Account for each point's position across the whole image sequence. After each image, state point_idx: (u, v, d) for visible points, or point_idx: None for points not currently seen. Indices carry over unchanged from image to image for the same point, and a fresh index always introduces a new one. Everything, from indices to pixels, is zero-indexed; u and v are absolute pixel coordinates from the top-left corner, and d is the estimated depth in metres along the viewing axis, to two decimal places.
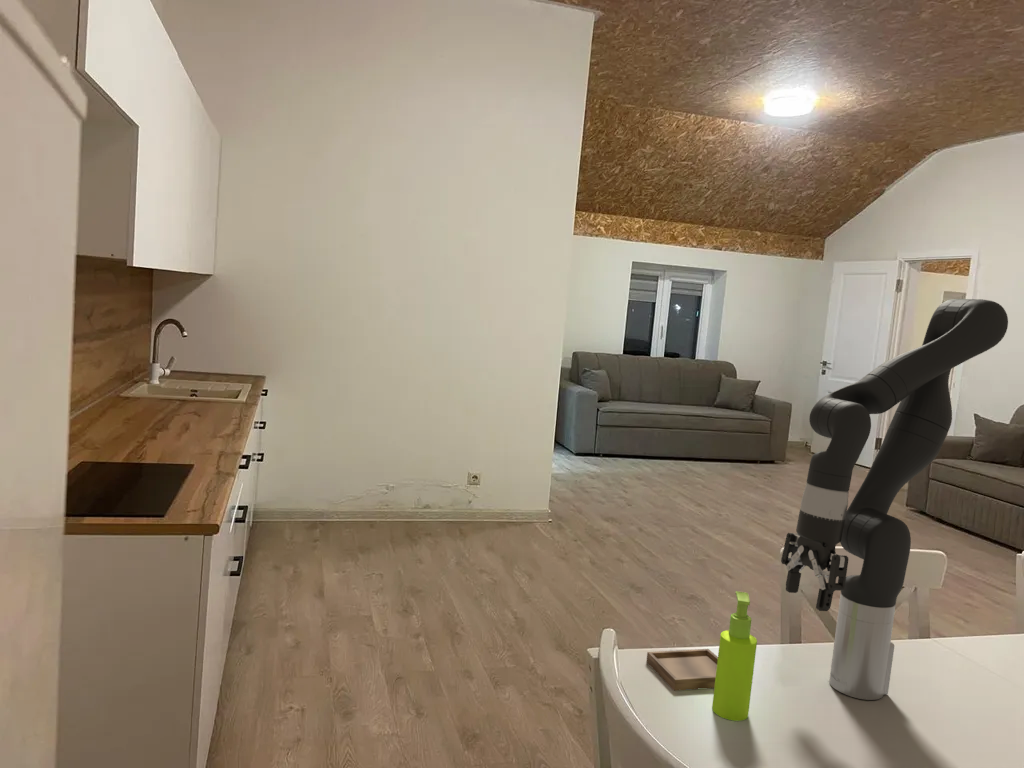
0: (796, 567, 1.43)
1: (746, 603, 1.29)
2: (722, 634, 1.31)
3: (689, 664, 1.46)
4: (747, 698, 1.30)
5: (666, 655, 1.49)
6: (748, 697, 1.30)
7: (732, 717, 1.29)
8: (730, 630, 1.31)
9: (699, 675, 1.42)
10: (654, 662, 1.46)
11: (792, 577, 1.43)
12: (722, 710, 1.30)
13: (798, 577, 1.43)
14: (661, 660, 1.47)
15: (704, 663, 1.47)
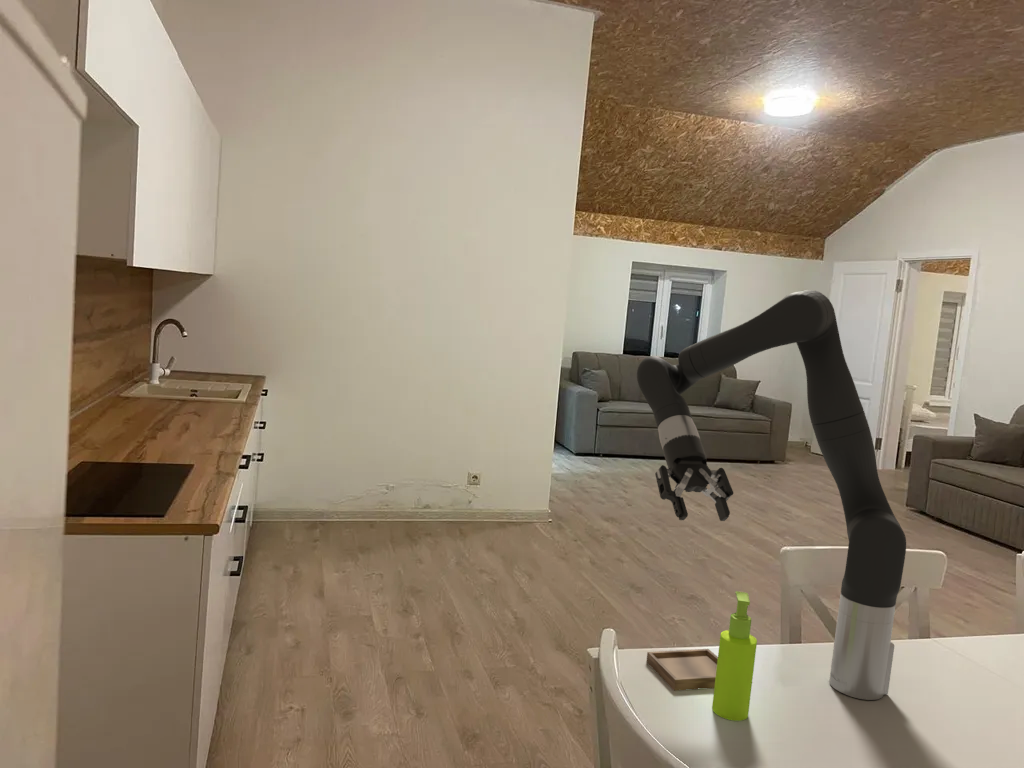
0: (717, 496, 1.47)
1: (746, 603, 1.29)
2: (722, 634, 1.31)
3: (689, 664, 1.46)
4: (747, 698, 1.30)
5: (666, 655, 1.49)
6: (748, 697, 1.30)
7: (732, 717, 1.29)
8: (730, 630, 1.31)
9: (699, 675, 1.42)
10: (654, 662, 1.46)
11: (717, 507, 1.47)
12: (722, 710, 1.30)
13: (720, 503, 1.46)
14: (661, 660, 1.47)
15: (704, 663, 1.47)
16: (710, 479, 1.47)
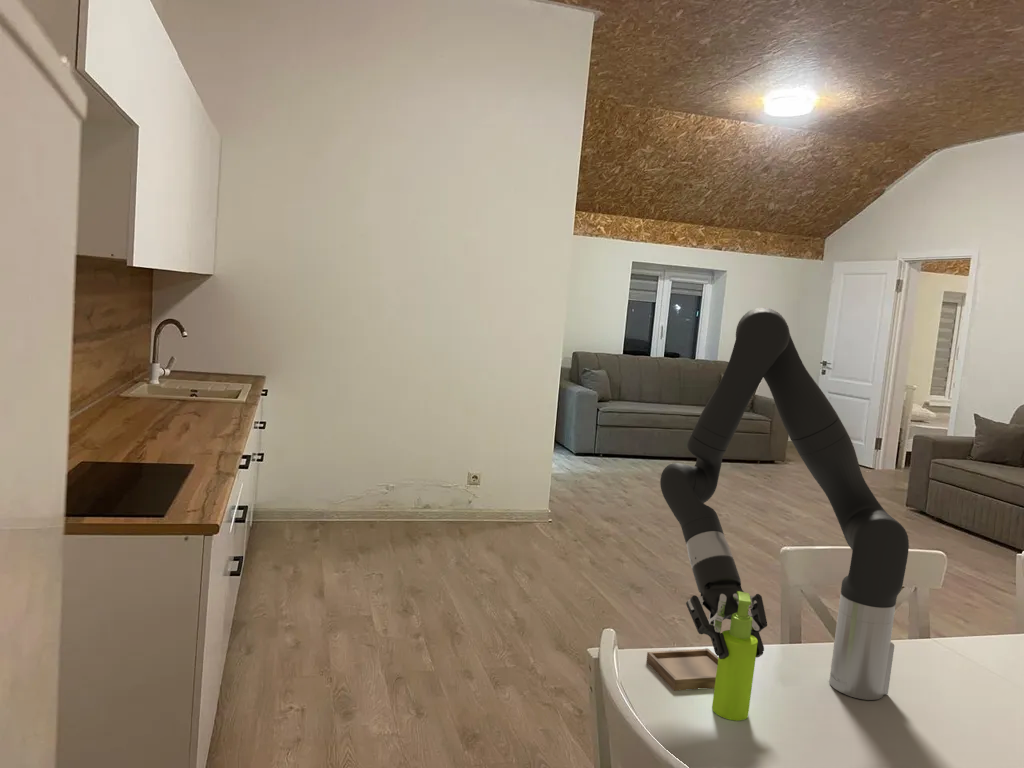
0: None
1: (747, 603, 1.29)
2: (723, 634, 1.31)
3: (689, 664, 1.46)
4: (747, 698, 1.30)
5: (666, 655, 1.49)
6: (748, 697, 1.30)
7: (732, 717, 1.29)
8: (731, 630, 1.31)
9: (699, 675, 1.42)
10: (654, 662, 1.46)
11: None
12: (722, 710, 1.30)
13: None
14: (661, 660, 1.47)
15: (704, 663, 1.47)
16: None
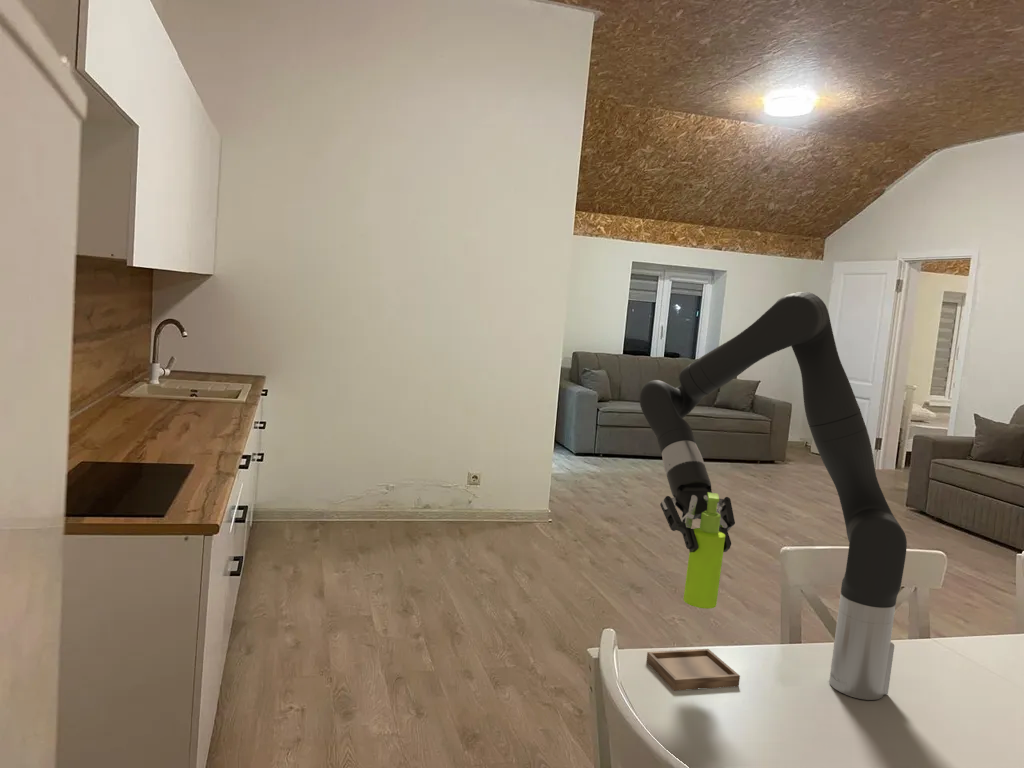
0: None
1: (716, 500, 1.40)
2: None
3: (689, 664, 1.46)
4: (715, 588, 1.41)
5: (666, 655, 1.49)
6: (716, 587, 1.41)
7: (701, 605, 1.40)
8: (701, 526, 1.41)
9: (699, 675, 1.42)
10: (654, 662, 1.46)
11: None
12: (692, 599, 1.41)
13: None
14: (661, 660, 1.47)
15: (704, 663, 1.47)
16: None
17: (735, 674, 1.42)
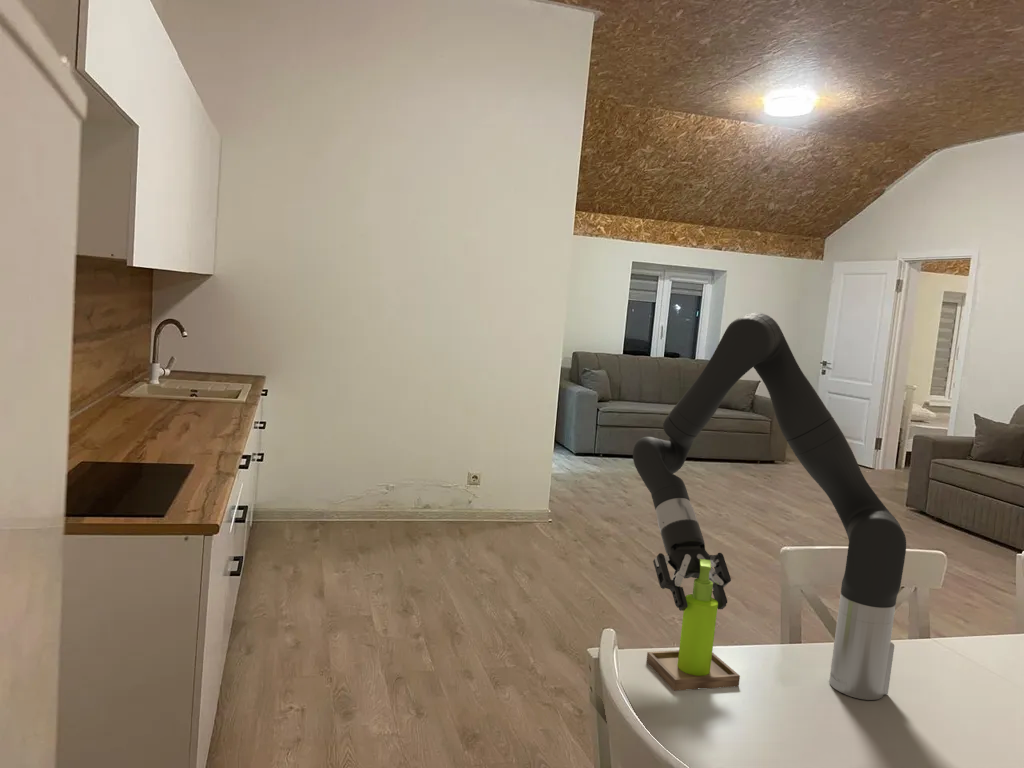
0: (714, 583, 1.46)
1: (707, 568, 1.41)
2: (686, 597, 1.44)
3: None
4: (708, 655, 1.42)
5: (666, 655, 1.49)
6: (709, 654, 1.42)
7: (695, 672, 1.42)
8: (693, 593, 1.43)
9: None
10: (654, 662, 1.46)
11: (714, 594, 1.46)
12: (686, 666, 1.43)
13: (717, 591, 1.45)
14: (661, 660, 1.47)
15: None
16: None
17: (735, 674, 1.42)
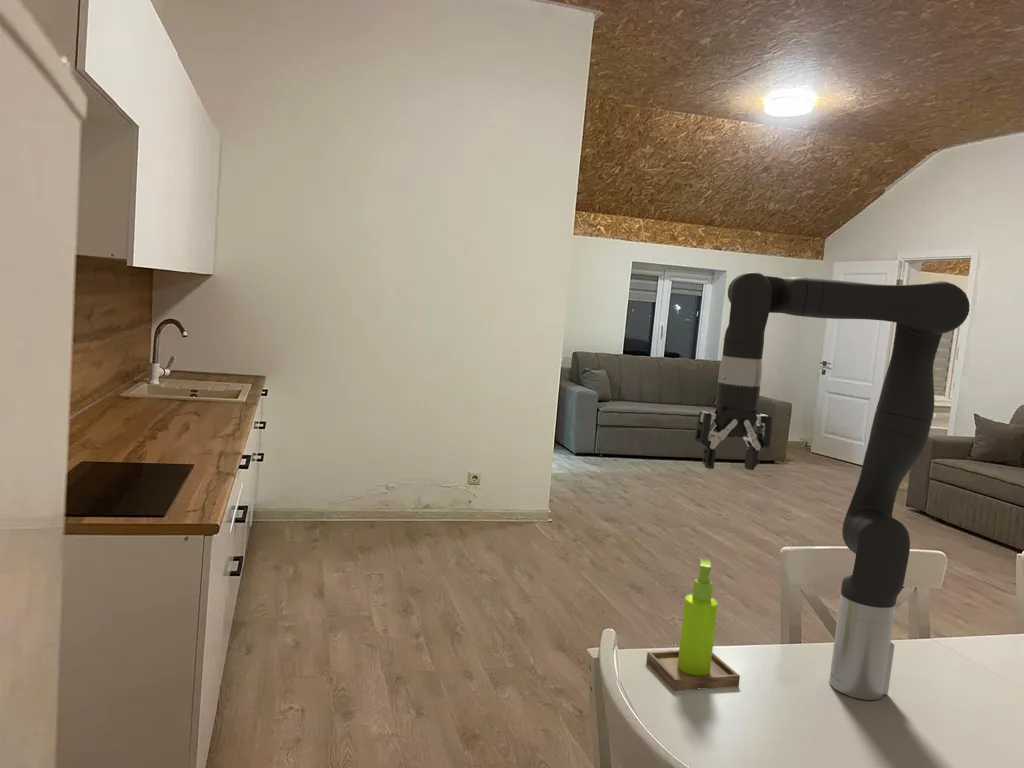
0: (751, 444, 1.46)
1: (707, 568, 1.41)
2: (686, 597, 1.44)
3: None
4: (708, 655, 1.42)
5: (666, 655, 1.49)
6: (709, 654, 1.42)
7: (695, 672, 1.42)
8: (693, 593, 1.43)
9: None
10: (654, 662, 1.46)
11: (747, 453, 1.47)
12: (686, 666, 1.43)
13: (751, 454, 1.46)
14: (661, 660, 1.47)
15: None
16: (751, 431, 1.44)
17: (735, 674, 1.42)
